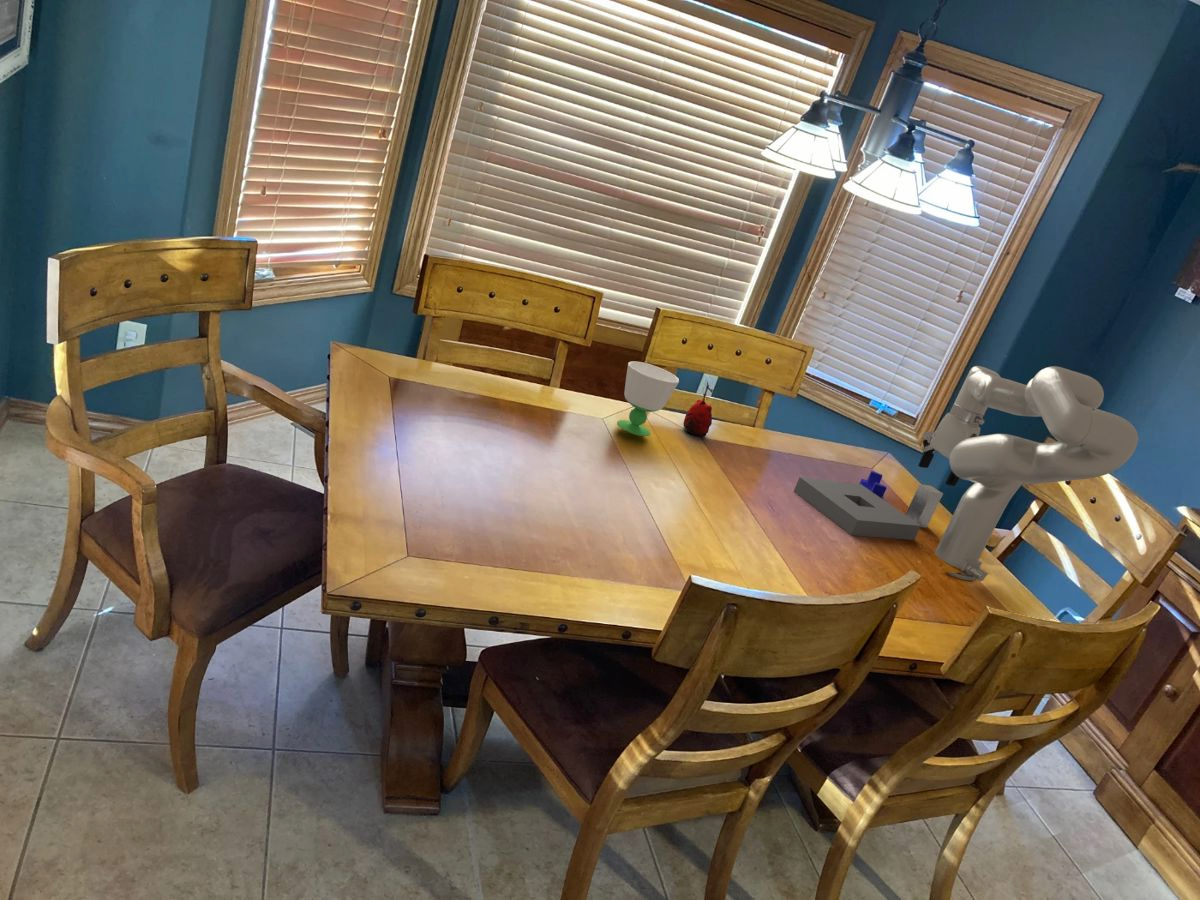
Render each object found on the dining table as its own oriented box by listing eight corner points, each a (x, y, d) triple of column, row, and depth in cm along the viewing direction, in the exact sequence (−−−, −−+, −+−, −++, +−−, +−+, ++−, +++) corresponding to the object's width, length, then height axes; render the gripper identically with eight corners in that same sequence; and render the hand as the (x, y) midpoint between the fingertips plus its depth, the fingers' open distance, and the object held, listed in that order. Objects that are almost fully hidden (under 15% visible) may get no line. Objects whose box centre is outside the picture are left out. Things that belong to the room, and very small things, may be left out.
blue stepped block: (857, 488, 258) (866, 468, 256) (873, 494, 258) (882, 474, 256) (860, 502, 247) (870, 481, 245) (877, 508, 246) (886, 488, 244)
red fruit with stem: (711, 437, 258) (730, 386, 253) (697, 438, 252) (716, 387, 248) (689, 425, 262) (708, 375, 257) (675, 426, 256) (694, 375, 252)
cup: (640, 420, 251) (660, 365, 246) (668, 442, 241) (690, 385, 236) (598, 415, 243) (618, 358, 238) (626, 437, 233) (647, 378, 228)
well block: (914, 540, 231) (920, 525, 229) (850, 535, 219) (857, 520, 218) (855, 497, 248) (861, 484, 247) (793, 491, 236) (799, 476, 235)
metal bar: (926, 527, 244) (943, 493, 241) (915, 526, 241) (931, 492, 238) (914, 519, 247) (930, 485, 244) (903, 518, 245) (919, 484, 242)
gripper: (1001, 431, 230) (970, 493, 236) (950, 402, 244) (922, 461, 249) (982, 428, 226) (951, 491, 232) (931, 399, 240) (902, 459, 245)
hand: (936, 475), depth 241 cm, fingers open, 9 cm apart
